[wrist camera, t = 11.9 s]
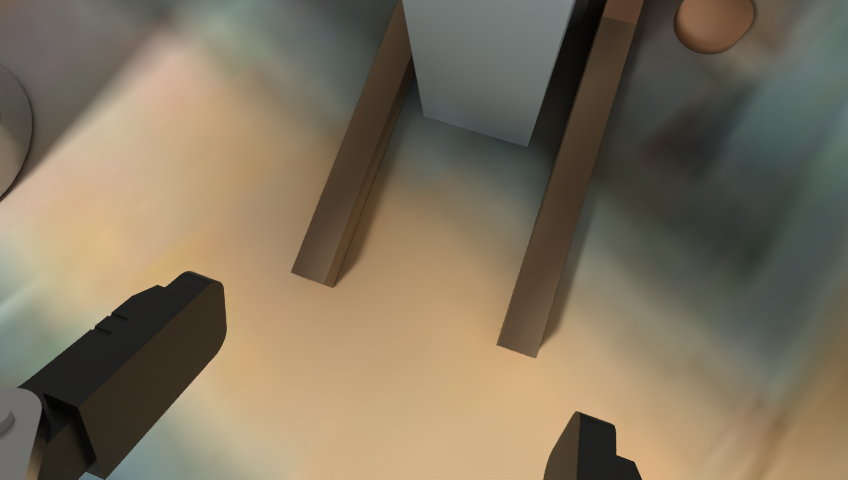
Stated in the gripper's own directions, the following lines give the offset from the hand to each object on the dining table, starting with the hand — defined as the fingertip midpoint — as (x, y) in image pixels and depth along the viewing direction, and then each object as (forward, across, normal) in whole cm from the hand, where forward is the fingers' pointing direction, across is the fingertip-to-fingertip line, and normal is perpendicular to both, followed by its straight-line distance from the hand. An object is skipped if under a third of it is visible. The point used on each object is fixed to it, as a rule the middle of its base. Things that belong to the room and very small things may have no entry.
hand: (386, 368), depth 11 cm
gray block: (+17, -1, +1) cm, 17 cm away
